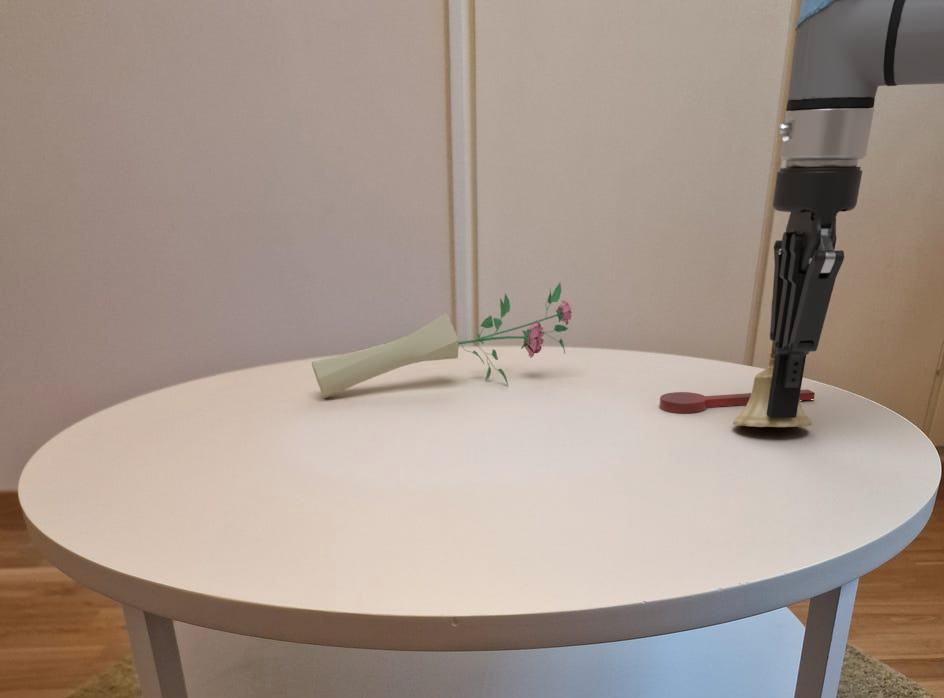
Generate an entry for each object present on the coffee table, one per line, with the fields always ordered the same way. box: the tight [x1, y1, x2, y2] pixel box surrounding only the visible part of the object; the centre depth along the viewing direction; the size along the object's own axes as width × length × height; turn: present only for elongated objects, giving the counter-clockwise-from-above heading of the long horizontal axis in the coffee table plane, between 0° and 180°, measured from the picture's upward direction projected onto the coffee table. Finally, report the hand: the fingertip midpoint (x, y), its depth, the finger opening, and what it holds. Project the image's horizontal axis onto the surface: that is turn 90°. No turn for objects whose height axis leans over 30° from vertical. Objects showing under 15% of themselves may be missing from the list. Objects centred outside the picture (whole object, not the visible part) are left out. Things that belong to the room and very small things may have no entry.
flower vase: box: [311, 281, 573, 399], centre depth 119 cm, size 12×12×35 cm
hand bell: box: [732, 306, 813, 428], centre depth 95 cm, size 8×8×16 cm
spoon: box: [659, 389, 816, 414], centre depth 108 cm, size 19×6×1 cm, turn 98°
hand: (781, 415), depth 94 cm, fingers closed
